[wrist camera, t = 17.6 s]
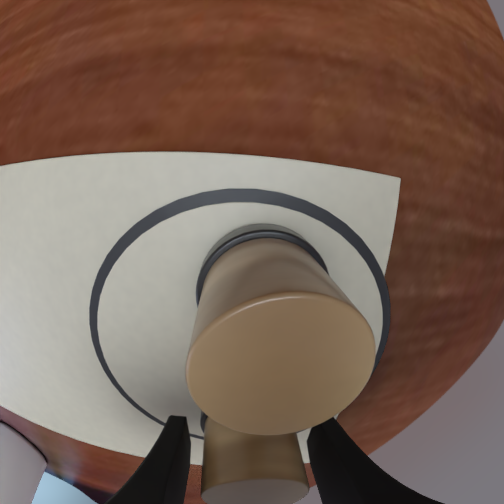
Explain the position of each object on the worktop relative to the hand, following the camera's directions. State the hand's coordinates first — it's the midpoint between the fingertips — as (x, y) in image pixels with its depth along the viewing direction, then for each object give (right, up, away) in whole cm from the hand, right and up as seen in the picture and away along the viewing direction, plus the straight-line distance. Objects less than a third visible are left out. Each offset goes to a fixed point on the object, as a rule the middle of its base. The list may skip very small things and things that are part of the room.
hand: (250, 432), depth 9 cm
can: (-22, -11, +4) cm, 24 cm away
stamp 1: (0, +6, 0) cm, 6 cm away
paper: (-13, +3, 0) cm, 14 cm away
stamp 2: (0, 0, +1) cm, 1 cm away
